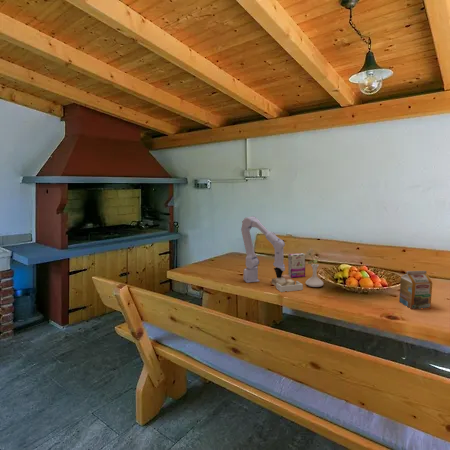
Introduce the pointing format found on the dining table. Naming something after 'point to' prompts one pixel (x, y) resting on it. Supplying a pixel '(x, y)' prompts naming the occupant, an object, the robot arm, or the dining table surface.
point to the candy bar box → (296, 265)
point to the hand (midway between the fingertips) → (278, 278)
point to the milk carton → (416, 290)
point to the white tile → (280, 280)
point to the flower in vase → (314, 280)
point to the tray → (290, 287)
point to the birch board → (286, 283)
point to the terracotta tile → (286, 277)
